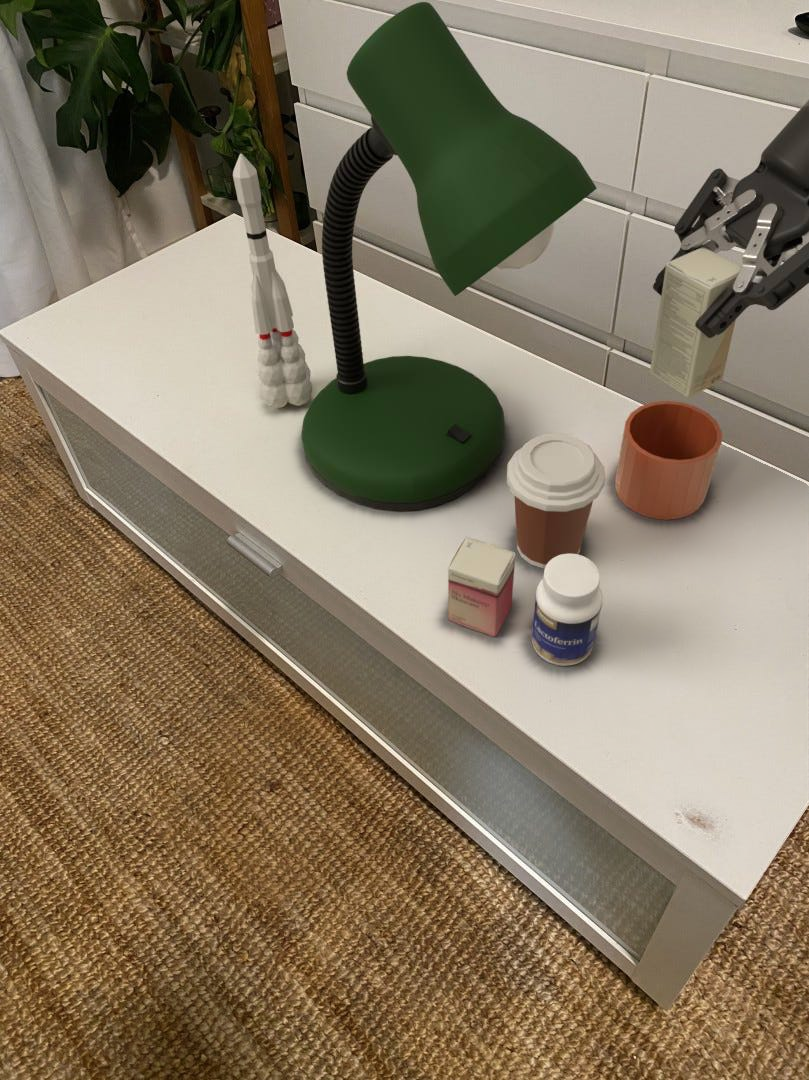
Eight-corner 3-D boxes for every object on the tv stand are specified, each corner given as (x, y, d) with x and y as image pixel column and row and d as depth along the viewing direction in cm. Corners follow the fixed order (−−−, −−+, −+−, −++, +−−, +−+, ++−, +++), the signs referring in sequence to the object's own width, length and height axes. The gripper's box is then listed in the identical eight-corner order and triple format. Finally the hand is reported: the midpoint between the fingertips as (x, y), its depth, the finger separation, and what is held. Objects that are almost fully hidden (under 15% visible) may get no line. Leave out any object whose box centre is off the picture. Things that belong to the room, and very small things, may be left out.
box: (723, 381, 77) (752, 270, 68) (687, 400, 75) (712, 289, 67) (680, 353, 80) (703, 243, 71) (645, 370, 78) (664, 261, 70)
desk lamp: (603, 451, 96) (674, -7, 63) (486, 577, 85) (498, 101, 51) (390, 357, 110) (356, -59, 76) (266, 455, 99) (163, 17, 65)
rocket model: (330, 392, 106) (293, 148, 84) (290, 425, 102) (240, 178, 80) (286, 372, 109) (240, 132, 87) (246, 403, 105) (186, 160, 83)
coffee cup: (562, 594, 83) (572, 507, 74) (485, 551, 87) (487, 464, 78) (611, 537, 87) (626, 450, 78) (536, 500, 92) (542, 412, 83)
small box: (447, 621, 82) (445, 567, 76) (465, 588, 84) (465, 534, 78) (496, 639, 80) (498, 585, 74) (513, 605, 82) (516, 551, 76)
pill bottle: (523, 657, 78) (528, 589, 71) (540, 610, 82) (547, 540, 74) (585, 675, 77) (597, 608, 69) (600, 627, 80) (613, 557, 73)
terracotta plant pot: (717, 475, 93) (734, 417, 87) (688, 531, 87) (704, 474, 81) (634, 448, 96) (644, 391, 90) (601, 500, 91) (610, 444, 85)
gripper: (761, 74, 67) (610, 252, 74) (896, 145, 58) (710, 340, 65) (799, 128, 72) (655, 290, 79) (929, 201, 63) (753, 377, 70)
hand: (681, 312), depth 72 cm, fingers closed on box, 5 cm apart
